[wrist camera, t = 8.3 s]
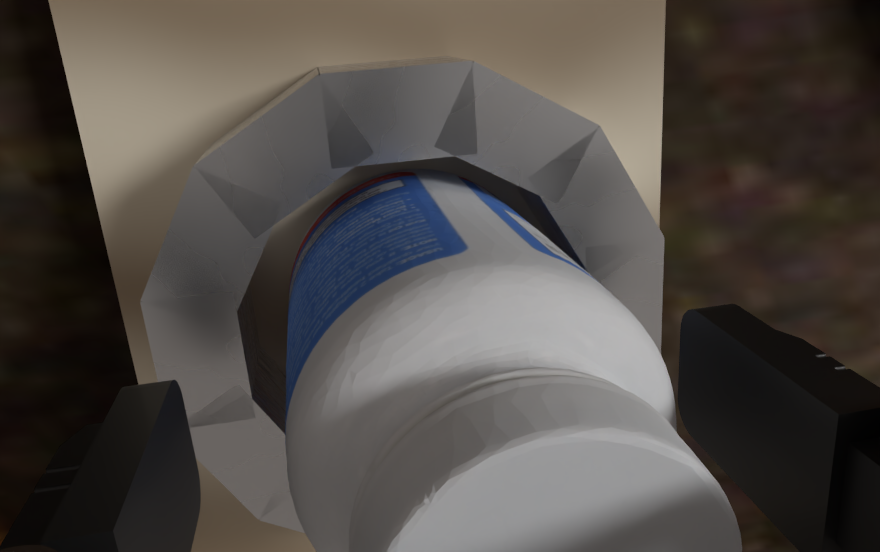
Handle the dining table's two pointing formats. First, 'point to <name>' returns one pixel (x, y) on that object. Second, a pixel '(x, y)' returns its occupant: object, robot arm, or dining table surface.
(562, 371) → the pill bottle
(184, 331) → the ring collar
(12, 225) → the dining table surface
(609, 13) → the ring plate
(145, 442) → the robot arm
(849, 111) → the dining table surface
